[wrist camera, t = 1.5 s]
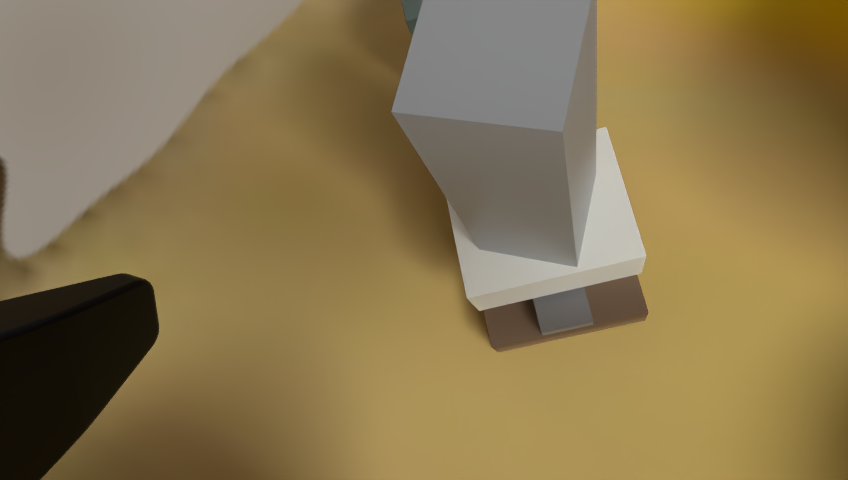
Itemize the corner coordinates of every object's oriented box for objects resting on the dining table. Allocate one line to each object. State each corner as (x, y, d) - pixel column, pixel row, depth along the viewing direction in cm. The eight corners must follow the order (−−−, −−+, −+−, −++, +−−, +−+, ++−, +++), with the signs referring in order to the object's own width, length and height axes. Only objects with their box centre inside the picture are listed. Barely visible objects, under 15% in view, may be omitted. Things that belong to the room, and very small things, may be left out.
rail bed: (644, 320, 21) (663, 278, 15) (497, 352, 22) (463, 324, 16) (556, 25, 25) (544, -95, 19) (435, 63, 26) (390, -41, 20)
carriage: (641, 273, 19) (690, 105, 9) (479, 310, 20) (366, 194, 10) (605, 155, 20) (614, -103, 10) (454, 195, 21) (334, -6, 11)
